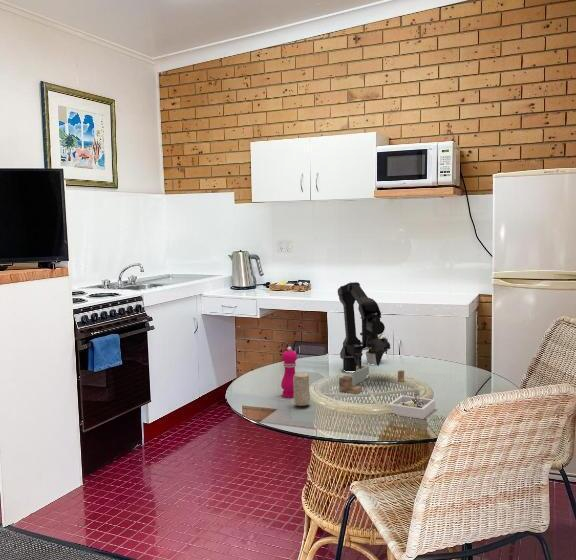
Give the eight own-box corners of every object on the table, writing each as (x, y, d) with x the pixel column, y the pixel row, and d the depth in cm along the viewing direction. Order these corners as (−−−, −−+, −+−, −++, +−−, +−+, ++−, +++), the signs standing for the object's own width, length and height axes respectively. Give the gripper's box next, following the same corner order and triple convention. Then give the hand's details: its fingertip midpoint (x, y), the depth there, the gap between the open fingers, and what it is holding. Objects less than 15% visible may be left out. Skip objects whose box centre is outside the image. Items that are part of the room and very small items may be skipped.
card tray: (388, 413, 222) (388, 404, 221) (401, 404, 233) (401, 395, 232) (423, 419, 215) (423, 409, 215) (435, 409, 226) (435, 399, 226)
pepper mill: (287, 399, 243) (286, 349, 241) (278, 395, 249) (276, 346, 247) (302, 396, 246) (301, 347, 244) (293, 392, 252) (292, 344, 251)
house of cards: (439, 410, 226) (439, 389, 225) (426, 415, 220) (426, 394, 219) (418, 405, 232) (418, 385, 232) (405, 410, 226) (405, 390, 226)
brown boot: (339, 392, 251) (339, 378, 250) (344, 390, 255) (344, 375, 254) (356, 395, 246) (356, 380, 246) (362, 392, 250) (361, 378, 249)
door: (367, 378, 271) (366, 366, 270) (369, 378, 270) (369, 366, 269) (351, 385, 259) (351, 372, 258) (353, 386, 258) (353, 373, 258)
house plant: (394, 362, 300) (394, 329, 298) (386, 369, 287) (386, 334, 286) (365, 360, 306) (365, 328, 304) (357, 366, 293) (357, 333, 292)
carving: (308, 401, 239) (307, 371, 238) (311, 407, 231) (311, 376, 230) (292, 402, 238) (291, 372, 237) (295, 408, 230) (294, 377, 229)
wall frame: (356, 378, 272) (356, 366, 271) (358, 377, 273) (358, 365, 273) (402, 384, 260) (402, 371, 260) (404, 383, 262) (404, 370, 262)
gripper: (361, 336, 248) (361, 374, 250) (398, 331, 257) (398, 367, 259) (346, 332, 258) (346, 368, 260) (382, 327, 267) (382, 362, 268)
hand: (369, 367), depth 261 cm, fingers open, 9 cm apart
